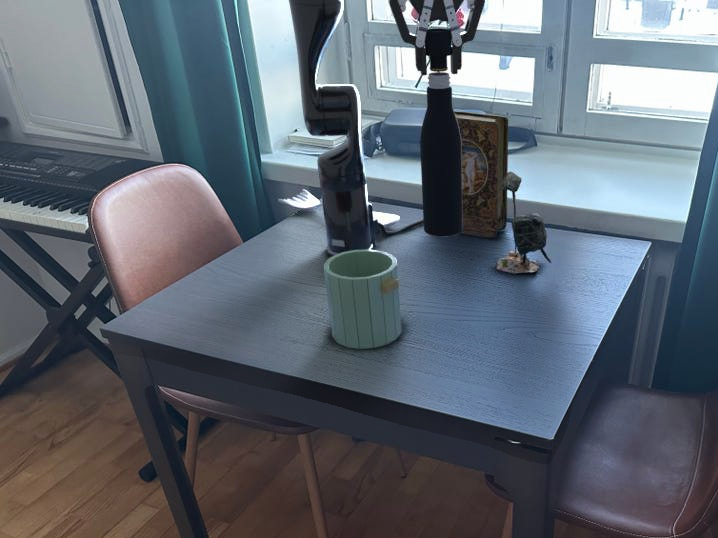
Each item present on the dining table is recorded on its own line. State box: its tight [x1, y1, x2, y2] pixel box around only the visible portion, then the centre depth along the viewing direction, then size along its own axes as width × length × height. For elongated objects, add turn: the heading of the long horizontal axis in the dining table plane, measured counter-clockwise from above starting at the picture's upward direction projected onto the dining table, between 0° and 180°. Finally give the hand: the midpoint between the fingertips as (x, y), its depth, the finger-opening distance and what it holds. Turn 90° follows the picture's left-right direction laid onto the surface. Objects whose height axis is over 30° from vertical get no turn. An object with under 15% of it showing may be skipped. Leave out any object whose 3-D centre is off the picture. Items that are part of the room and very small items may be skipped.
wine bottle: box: [419, 28, 463, 238], centre depth 107 cm, size 6×6×30 cm
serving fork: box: [277, 188, 400, 229], centre depth 164 cm, size 9×32×4 cm, turn 59°
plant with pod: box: [493, 171, 552, 275], centre depth 135 cm, size 8×11×20 cm
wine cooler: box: [323, 249, 402, 350], centre depth 116 cm, size 12×14×12 cm
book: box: [454, 110, 509, 239], centre depth 152 cm, size 16×6×25 cm, turn 65°
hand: (438, 73), depth 103 cm, fingers closed on wine bottle, 4 cm apart
